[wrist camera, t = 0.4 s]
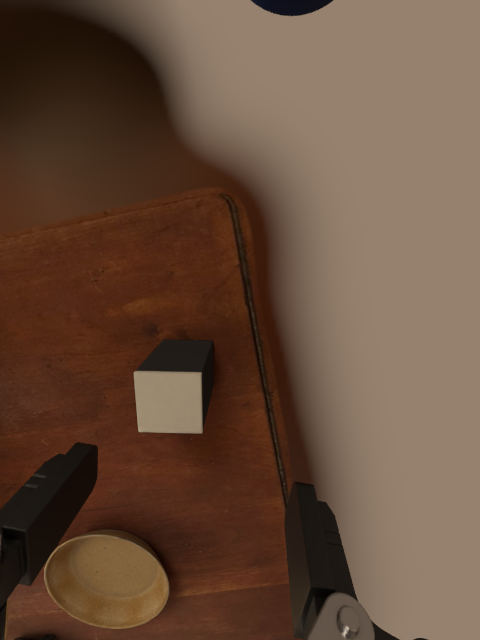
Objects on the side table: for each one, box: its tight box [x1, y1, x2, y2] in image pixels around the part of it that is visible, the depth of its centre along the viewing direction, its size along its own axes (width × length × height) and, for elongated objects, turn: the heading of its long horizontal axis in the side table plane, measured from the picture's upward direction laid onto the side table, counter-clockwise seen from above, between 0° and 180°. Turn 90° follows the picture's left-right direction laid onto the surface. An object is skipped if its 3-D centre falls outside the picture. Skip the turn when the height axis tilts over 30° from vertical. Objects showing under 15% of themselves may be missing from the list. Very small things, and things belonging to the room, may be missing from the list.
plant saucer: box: [44, 529, 169, 629], centre depth 35 cm, size 15×15×3 cm
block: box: [134, 340, 213, 434], centre depth 26 cm, size 5×5×8 cm
